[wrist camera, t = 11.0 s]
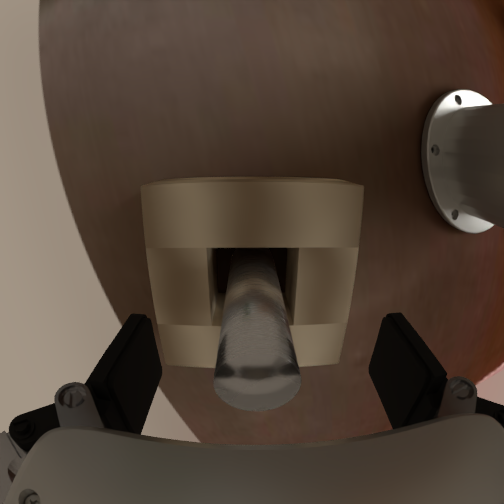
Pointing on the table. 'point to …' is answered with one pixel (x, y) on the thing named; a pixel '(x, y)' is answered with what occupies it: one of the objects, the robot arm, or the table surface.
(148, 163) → the table surface
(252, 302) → the steel peg
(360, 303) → the table surface
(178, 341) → the wooden square hole block
